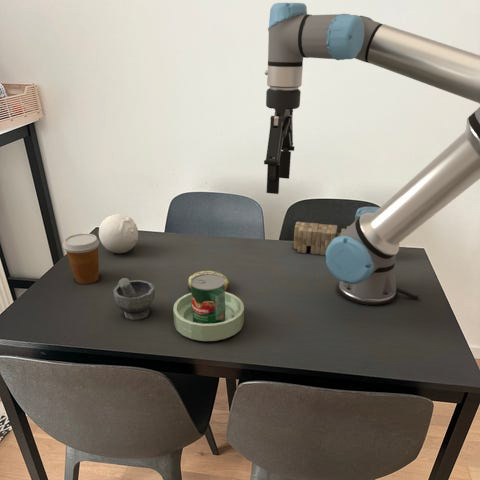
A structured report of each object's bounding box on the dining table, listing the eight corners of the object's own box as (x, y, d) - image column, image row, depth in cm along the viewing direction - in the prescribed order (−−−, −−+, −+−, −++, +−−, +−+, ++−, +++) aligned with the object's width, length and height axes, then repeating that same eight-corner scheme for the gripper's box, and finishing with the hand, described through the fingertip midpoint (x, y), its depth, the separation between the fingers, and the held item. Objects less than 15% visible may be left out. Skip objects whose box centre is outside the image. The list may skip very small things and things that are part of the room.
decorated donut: (212, 302, 122) (211, 289, 120) (181, 291, 127) (180, 278, 125) (235, 287, 129) (235, 275, 127) (205, 276, 134) (204, 265, 132)
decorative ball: (130, 261, 143) (125, 224, 136) (94, 257, 145) (88, 220, 139) (146, 246, 153) (142, 210, 146) (112, 242, 155) (107, 207, 149)
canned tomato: (227, 314, 115) (227, 274, 109) (223, 331, 109) (222, 290, 103) (195, 312, 116) (193, 272, 110) (189, 329, 109) (187, 288, 104)
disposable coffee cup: (63, 284, 130) (54, 244, 123) (81, 269, 137) (74, 231, 131) (94, 288, 128) (87, 247, 121) (110, 273, 136) (104, 234, 129)
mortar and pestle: (125, 302, 121) (120, 260, 115) (160, 305, 120) (156, 262, 114) (109, 325, 112) (102, 280, 106) (146, 328, 111) (141, 283, 105)
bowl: (250, 312, 118) (251, 295, 115) (232, 349, 104) (232, 330, 101) (189, 303, 121) (188, 286, 119) (163, 337, 108) (162, 319, 105)
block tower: (292, 254, 150) (385, 261, 144) (293, 229, 146) (389, 236, 140) (295, 245, 157) (385, 251, 151) (296, 221, 152) (389, 226, 146)
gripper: (278, 82, 113) (274, 171, 124) (253, 93, 92) (250, 198, 104) (309, 83, 111) (301, 173, 122) (290, 95, 91) (283, 202, 102)
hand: (278, 185), depth 113 cm, fingers open, 13 cm apart
